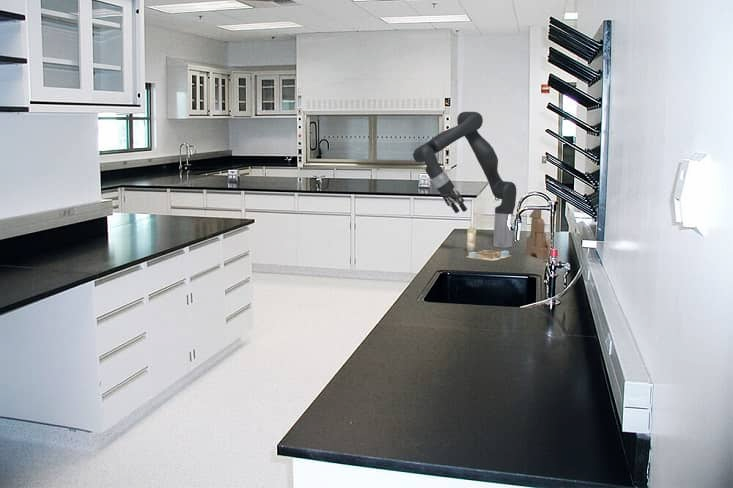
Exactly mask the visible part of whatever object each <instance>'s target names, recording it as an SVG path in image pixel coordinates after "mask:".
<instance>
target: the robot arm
mask: <svg viewBox="0 0 733 488" xmlns="http://www.w3.org/2000/svg"><path fill="white" fill-rule="evenodd" d="M456 121H457V124H456V125H455V126H453V127H451V128H449V129H446V130H444V131H441V132H440V133H438V134H437V135H436V136H434V137H432V138H431V139H430V140H428V141H427V142H425V143H423V144H421V145H419V147H417V148H415V150H413V153H412V158H413V160H414V161H415V162H416V163H425V166H426V167H425V173H426V175H428V177H429V179H430V180H431V182H432V184H433V185H434V187H435V189H436V190H437V192H438V193H439V194H440V196H441V198H442V199H443V201H445V203H446V205H447V206H448V207H450V208H451V209H452V210H453V212H454V213H455V214H458V213H459V212H460V209H461V211H462V212H463V213H466V211H467V210H468V207H467V206H466V205H465V203H464V202H465V199H464V198H463V196H462V195H461V193H460V192H459V191H458V190H456V191H455V190H454V189H455V185H454V184H453V182H452V180H451V179H450V178H449V176H448V175H447V173H446V172H445V170H444V169H443V168H442V167H441V164H439V160H438V157H437V153H439V152H442V151H443V150H444V149H446V148H447V147H448V146H450V145H451V144H453V143H454V142H456V141H458V140H460V139H461V138H464V137H465V139H466V140H467V142H468V144H469V146H470V148H471V151H472V152H473V154H474V156H475V158H476V159H477V162H478V164H479V165H480V166H479V167H481V169H482V170H483V174H484V175H485V178H486V179H487V182H488V185H489V188H490V190H491V192H492V194H493V196H494V198H496V199H498V200H501V203H500V204H499V205H497V206H496V207H494V223H493V247H496V248H501V249H502V248H503V249H504V248H505V249H507V248H508V249H509V248H512V246H513V234H514V233H513V232H514V230H513V231H510V230H509V228H508V226H507V220H508V215H509V214H511V215H513V216H514V210H515V207H516V203H517V202H516V201H517V186H516V184H515V182H513V181H507V180H505V181H504V180H503V179H502V177H501V176H500V174H499V172H498V168H499V158H498V156H497V153H496V152H495V150H494V147H493V146H492V145H491V144H490V143H489V142H488V141H487V140H486V139H485V138H484V137H483V136H482V135H481V134H480V133H479V131H478V130H479V129H480V128H481V127H483V122H484V118H483V116H482V114H481V113H480V112H477V111H463V112H460V113H459V114H458V115H457V119H456ZM457 205H458V206H459V208H460V209H459V208H458V206H457Z"/></svg>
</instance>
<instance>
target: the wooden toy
mask: <svg viewBox="0 0 733 488" xmlns="http://www.w3.org/2000/svg"><path fill="white" fill-rule="evenodd" d="M529 218H530V220H531V221H530V222H531V223H530V225H531V226H530V235H529V236H528V237H526V239H525V240H526V242H525V243H526V244H525V255H526V256H528V257H537V259H538V260H542V261H543V260H544V261H543V263H548V262H547V261H548V260H549V259H548V254H549V249H550V240H551V239H547V238H546V237H547V233H545V228H546V225H545V224H546V223H545V221H544V219H543V218H542V210H534V209H533V210H532V212H531V213H530V215H529Z"/></svg>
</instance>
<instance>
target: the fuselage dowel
mask: <svg viewBox="0 0 733 488" xmlns="http://www.w3.org/2000/svg"><path fill="white" fill-rule="evenodd" d="M466 229H467V231H466V232H467V233H466V235H467V236H466V254H468V255H469V253H470V252H476V238H477V228H476V227H467V228H466Z"/></svg>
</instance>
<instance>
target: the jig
mask: <svg viewBox="0 0 733 488" xmlns="http://www.w3.org/2000/svg"><path fill="white" fill-rule="evenodd" d="M476 252H477V257H475V258H474V259H477V260H483V261H489V262H494V261H498V260H501V259H505V258H509V257H511V255H510V254H509V256H506V257H501V251H497V250H496V251H495V250H488V249H484V250H480V251H476ZM466 258H470V259H472V258H471V257H469V255H468V256H466Z"/></svg>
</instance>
